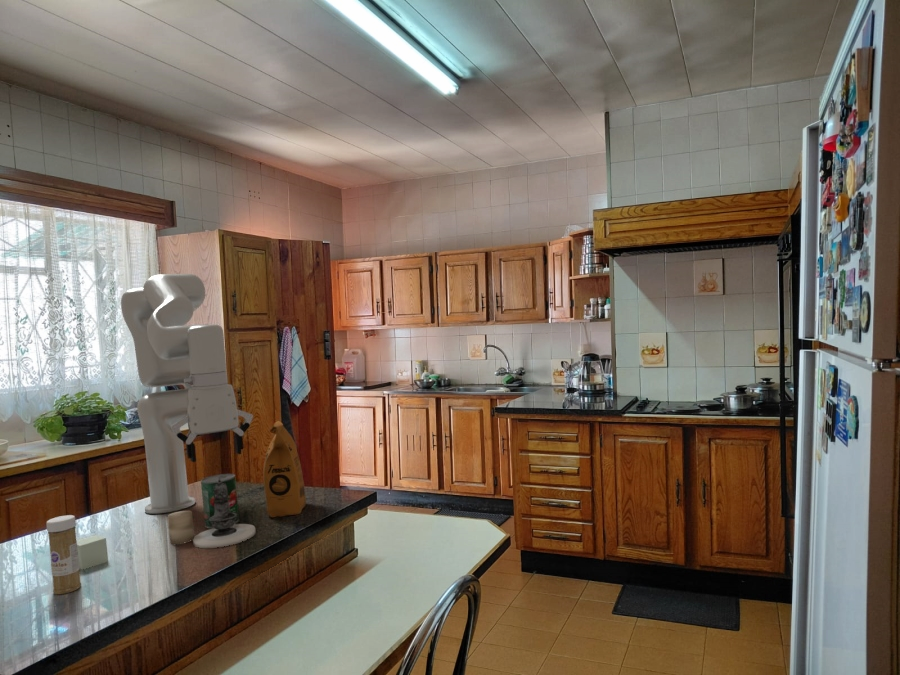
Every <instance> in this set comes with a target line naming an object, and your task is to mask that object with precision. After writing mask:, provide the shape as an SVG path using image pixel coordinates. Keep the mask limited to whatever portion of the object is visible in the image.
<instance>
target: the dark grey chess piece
mask: <svg viewBox="0 0 900 675" xmlns="http://www.w3.org/2000/svg"><path fill="white" fill-rule="evenodd" d="M218 482H219V483H217V484H216V485H214V487H213V491H214V500H213V502H214V506H215V513H214V515H213V516H212V517H210V518H209V521H211V525H212V527H214V528H215V529H218V530H216V531H214V532H213V533H212V536H215V537H220V536H226V535H230V534H233V533H235V532H236V531H237V529H235V528H233V527H231V526H232V525H233V524H234V523H235V519H236V516H237V514H236V513H232V512H231V511H230V508H229V499H230V498H229V497H228V492H227V485H226V484H225V483H222V482H221V480H220V479H219V480H218ZM235 524H236V523H235Z"/></svg>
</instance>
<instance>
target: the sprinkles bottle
mask: <svg viewBox="0 0 900 675" xmlns="http://www.w3.org/2000/svg"><path fill="white" fill-rule="evenodd" d="M76 521H77V520H76V517H75V515H72V514H69V515H68V514H67V515H60V516H56V517H54V518H49V519H48V520H47V521H46V531H47V535H48V541H49V552H50V569H51V576H52V586H53V590H52V593H54V594H55V595H63V594H65V595H66V594H69V593H72V592H74V591H76V590H78V589H79V588H81V587H82V583H81V575H80V569H79V559H78V549H77V541H76V540H77V535H76V532H77V531H76V525H77V524H76Z"/></svg>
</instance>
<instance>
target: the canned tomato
mask: <svg viewBox="0 0 900 675" xmlns="http://www.w3.org/2000/svg"><path fill="white" fill-rule="evenodd" d="M219 479H220V480H221V482H222V483H225V484H226V485H227V492H228V497H229V498H230V499H229V508H230V511H231V512H232V513H236V514H237V516H236V519H235V523H234V524H238V522H240V516H239V513H240V512H239V503H238V495H237V494H238V493H237V492H238V491H237V484H236V474H234V473H222V474H215V475H210V476H206V477H203V478H202V479H201V480H200V484H201V487H200V488H201V489H200V490H201V497H202V507H203V508H202V509H203V518H204V519H203V520H204V527H205V528H206V527H208V528H207V529H212V528H214V527H212V525H211V521H209V518H210V517H212V516H213V515H214V513H215V506H214V502H213V500H214V491H213V487H214V485H216V484H217V483H219V482H218V480H219Z"/></svg>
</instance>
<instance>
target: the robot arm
mask: <svg viewBox="0 0 900 675" xmlns="http://www.w3.org/2000/svg"><path fill="white" fill-rule="evenodd" d="M205 299H206V288H205V284H204V282H203V280H202V279H201V278H200V277H199V276H198V275H195V274H192V273H169V274H168V273H166V274H165V273H163V274H155V275H152V276H151V277H149V278H148V279H146V281H145V283H144V284H143V287H137V288H136V287H135V288H131V289H128V290H126V291H125V292H124V293H123V294H122V295H121V298H120V307H121V314H122V317H123V319H124V322H125V325H126V326H127V329H128V331H129V332H130V335H131V337H132V340H133V344H134V351H135V359H136V366H137V373H138V376H139V377H138V378H139V381H140V383H141V384H142V386H144V387H146V388H161V387H171V386H179V385H182V386H183V387H184V388H181V389H171V390H165V391H164V390H163V391H155V392H151V393H148V394H145V395H143V396H142V397H141V398H139V400H138V402H137V407H136V408H137V414H138V418H139V422H140V426H141V429H142V436H143V440H144V448H145V449H144V450H145V459H146V460H145V461H146V468H147V477H148V478H147V480H148V487H149V488H148V489H149V499H150V503H149V504H147V505H146V506H144V512H145V513H147V514H151V515H152V514H153V515H155V514H165V513H174V512H178V511H182V510H185V509H187V508H190V507H192V506H193V505H195V503H196V498H195V497H193V496H190V495H189V488H188V486H189V485H188V479H187V478H188V476H187V467H186V466H187V465H186V457H187V459H189V460H190V462H191V463H196V462H197V458H196V457H197V455H196V454H197V453H196V447H195V446H196V445H195V443H194V440H195V439H196V437H197V436H198V435H207V434H212V433H213V434H215V433H221V432H226V431H233V432H234V436H233V441H234V442H233V443H234V452H235V453H236V454H237V455H242V450H244V438H243V437H244V435H245V432H247V430H248V429H249V428H250V425H251V423H252V421H253V419H254V415H253V414H252V413H249V412H247V411H244V410H241V409H238V406H237V399H236V396H235V391H234V387H233V385H232V384H228V381H229V380H228V371H227V360H226V348H225V337H224V336H225V335H224V330H223V326H221V325H218V324H188V323H189V322H190V320H191V319H192V318H193V315H194V312H195V311H197V309H199V308H200V307H201V306H202V305H203V303H204V301H205ZM239 417H242V418H244V422H243V423H242V424H241V425H240V426H239V423H240V422H239V420H240V419H239ZM186 424H187V427H188V430H189V432H188V433H187V434H184V433H183V432H182V431H181V429H180V428H182V427H183V426H184V425H186ZM184 444H185V445H184ZM184 446H186V447H184ZM185 448H186V449H185ZM185 450H186V454H185ZM185 456H186V457H185Z"/></svg>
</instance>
